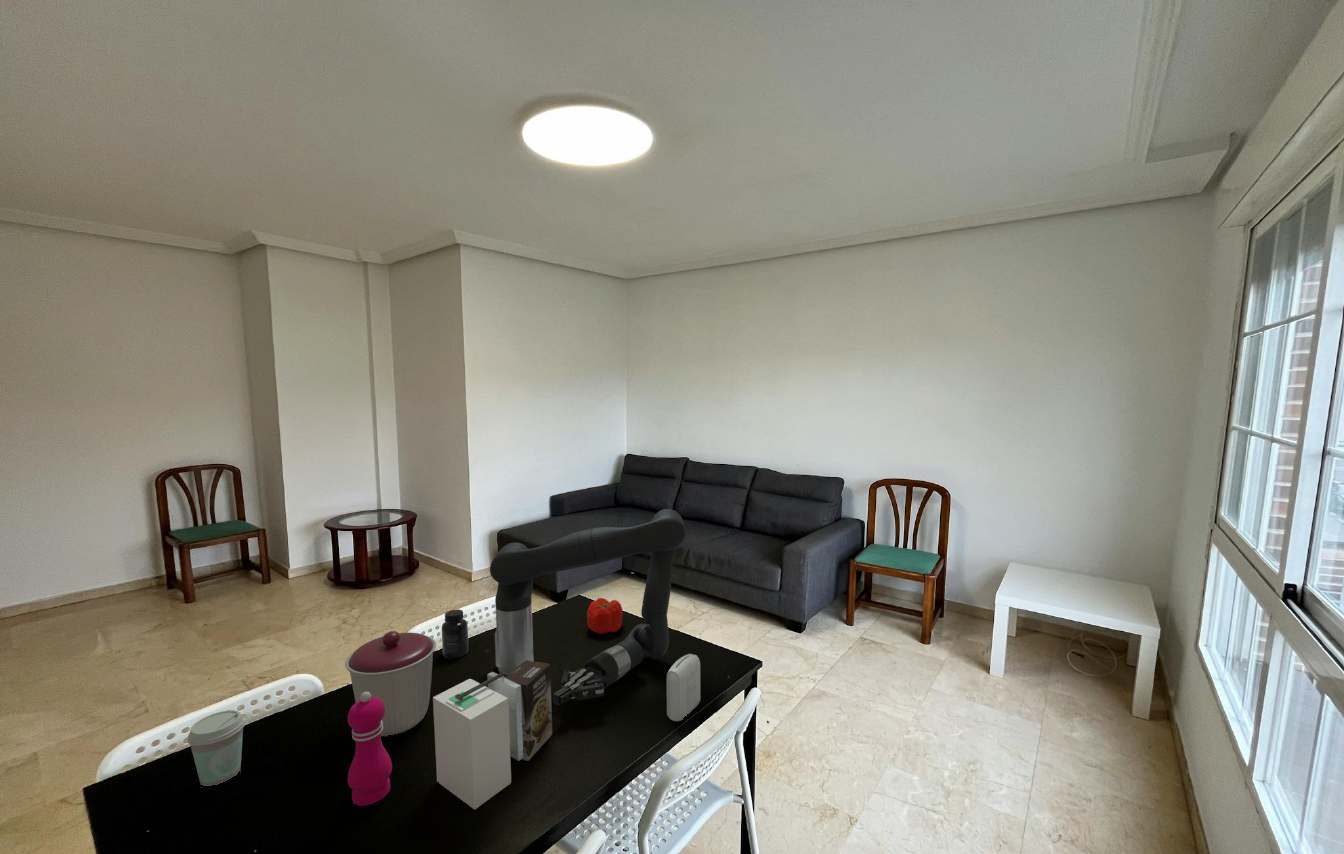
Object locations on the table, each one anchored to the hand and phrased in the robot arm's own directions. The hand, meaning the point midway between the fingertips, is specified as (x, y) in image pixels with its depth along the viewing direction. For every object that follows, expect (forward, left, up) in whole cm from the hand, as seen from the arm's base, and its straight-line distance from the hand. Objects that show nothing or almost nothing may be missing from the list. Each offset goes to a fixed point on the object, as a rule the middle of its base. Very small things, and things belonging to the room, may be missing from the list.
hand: (555, 700), depth 121 cm
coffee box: (0, -8, -6) cm, 10 cm away
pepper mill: (-13, -34, -6) cm, 37 cm away
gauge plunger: (0, -18, -4) cm, 19 cm away
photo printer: (+20, +21, -6) cm, 30 cm away
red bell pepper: (-23, +41, -6) cm, 48 cm away
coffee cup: (-41, -49, -6) cm, 64 cm away
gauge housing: (0, -21, -6) cm, 22 cm away
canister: (-31, -20, -6) cm, 37 cm away
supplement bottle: (-48, +6, -6) cm, 49 cm away
